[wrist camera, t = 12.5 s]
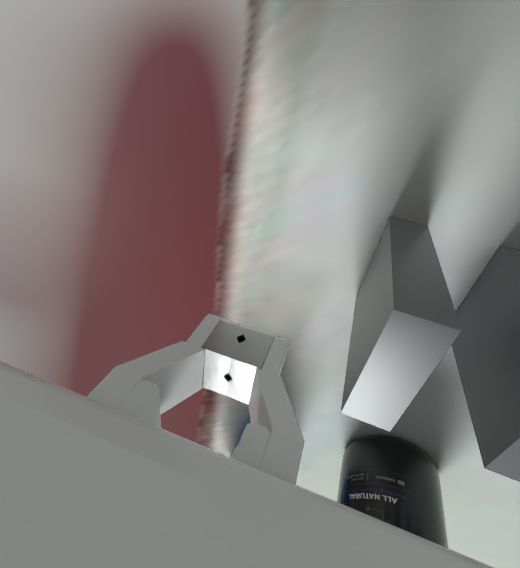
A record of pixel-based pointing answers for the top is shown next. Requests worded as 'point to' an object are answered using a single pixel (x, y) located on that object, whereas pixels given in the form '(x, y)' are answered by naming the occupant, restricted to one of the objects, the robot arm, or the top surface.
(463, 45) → the top surface
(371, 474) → the supplement bottle
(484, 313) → the domino
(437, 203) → the top surface
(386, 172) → the top surface
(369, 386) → the domino
